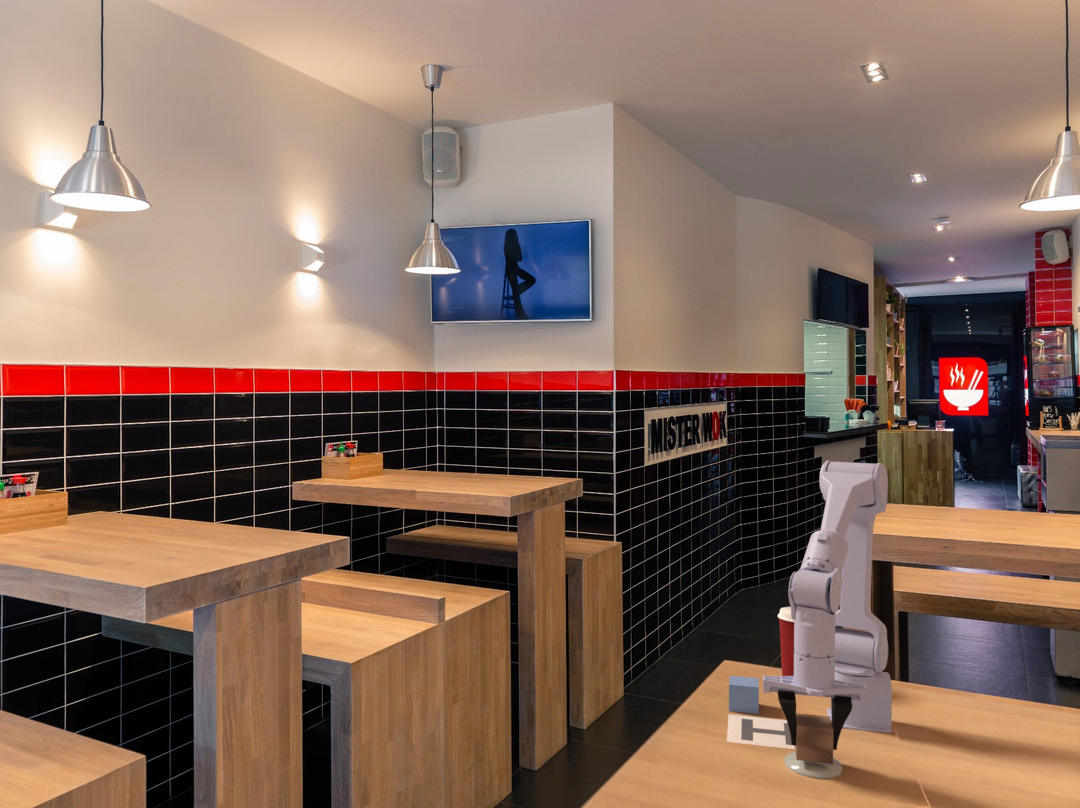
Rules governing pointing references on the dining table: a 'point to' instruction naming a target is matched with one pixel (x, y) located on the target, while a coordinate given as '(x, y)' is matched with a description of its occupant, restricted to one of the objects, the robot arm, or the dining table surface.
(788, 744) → the letter card
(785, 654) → the paper cup
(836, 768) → the saucer
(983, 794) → the dining table surface
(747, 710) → the blue cube
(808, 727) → the walnut block
